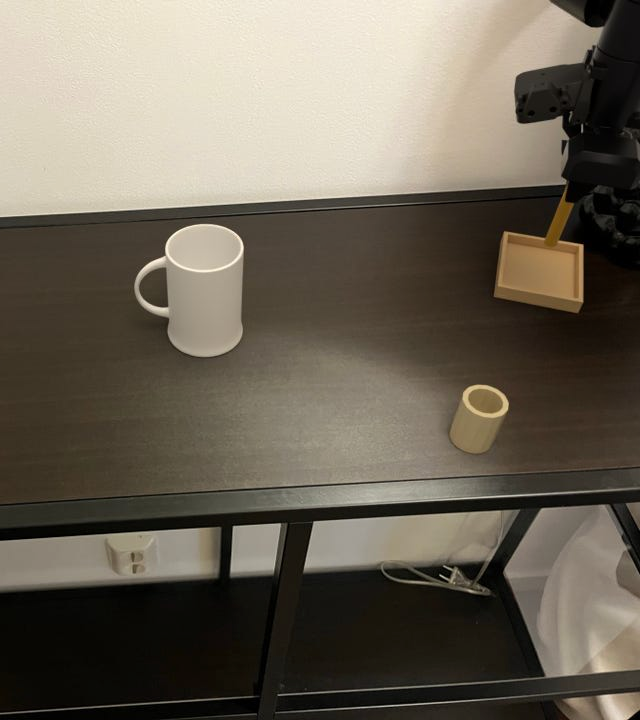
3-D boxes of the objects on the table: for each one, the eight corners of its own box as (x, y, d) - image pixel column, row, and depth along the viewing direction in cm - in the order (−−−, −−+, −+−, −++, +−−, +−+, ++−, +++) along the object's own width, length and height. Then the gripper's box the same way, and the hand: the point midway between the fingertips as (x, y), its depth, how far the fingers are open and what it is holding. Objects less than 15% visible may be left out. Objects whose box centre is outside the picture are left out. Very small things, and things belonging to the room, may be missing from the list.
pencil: (556, 241, 82) (588, 165, 75) (556, 248, 81) (588, 172, 74) (543, 239, 82) (574, 163, 75) (543, 246, 81) (574, 170, 75)
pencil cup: (493, 427, 74) (509, 390, 70) (490, 458, 71) (507, 422, 67) (451, 417, 75) (465, 380, 71) (446, 447, 72) (460, 411, 68)
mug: (136, 357, 83) (127, 273, 74) (142, 305, 89) (135, 222, 80) (243, 358, 82) (246, 273, 73) (242, 306, 88) (245, 222, 79)
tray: (500, 242, 94) (504, 231, 92) (578, 255, 91) (583, 244, 90) (493, 297, 87) (497, 286, 85) (577, 313, 84) (583, 302, 83)
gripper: (538, -1, 74) (494, 141, 85) (530, 84, 62) (480, 235, 74) (663, 11, 71) (601, 156, 82) (680, 102, 59) (604, 257, 71)
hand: (570, 197), depth 77 cm, fingers closed on pencil, 1 cm apart
